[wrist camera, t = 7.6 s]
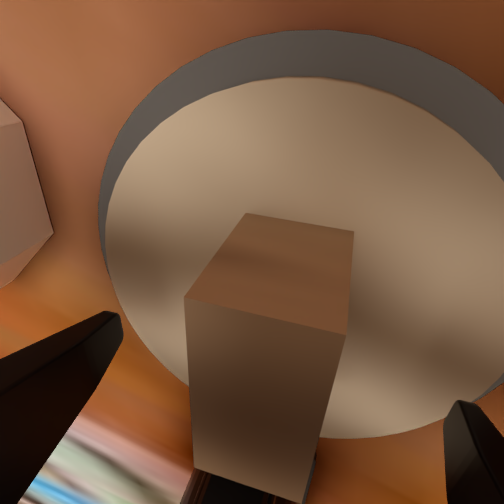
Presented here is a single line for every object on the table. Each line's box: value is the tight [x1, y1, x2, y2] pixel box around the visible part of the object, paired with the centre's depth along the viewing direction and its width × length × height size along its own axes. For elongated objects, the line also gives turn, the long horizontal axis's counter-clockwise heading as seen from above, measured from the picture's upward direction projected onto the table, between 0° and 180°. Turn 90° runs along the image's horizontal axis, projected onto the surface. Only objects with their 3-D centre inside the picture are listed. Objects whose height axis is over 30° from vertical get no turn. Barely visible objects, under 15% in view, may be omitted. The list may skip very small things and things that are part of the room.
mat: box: [98, 30, 504, 403], centre depth 12 cm, size 15×15×1 cm
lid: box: [105, 76, 504, 504], centre depth 10 cm, size 13×13×5 cm
